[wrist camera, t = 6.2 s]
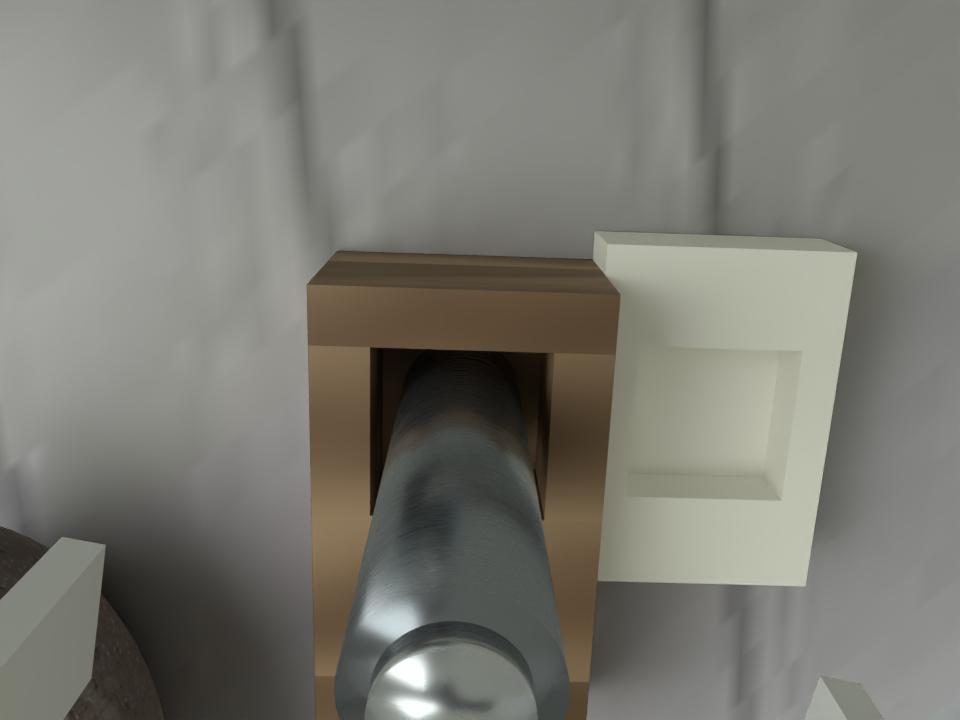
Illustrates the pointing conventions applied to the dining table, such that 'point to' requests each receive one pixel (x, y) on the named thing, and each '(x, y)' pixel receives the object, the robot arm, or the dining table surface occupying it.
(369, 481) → the socket block
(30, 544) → the planter
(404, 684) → the grey metal cylinder
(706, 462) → the block
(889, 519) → the dining table surface
